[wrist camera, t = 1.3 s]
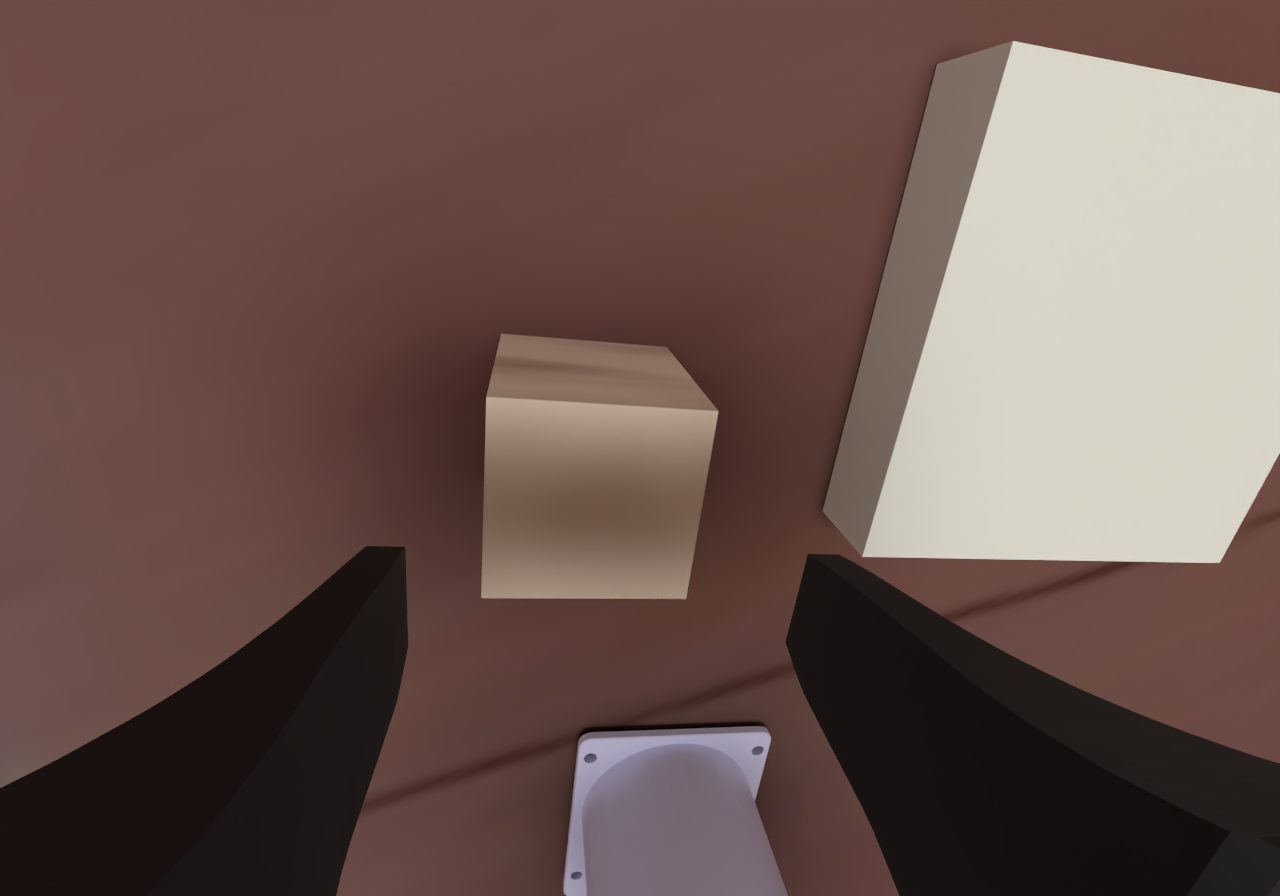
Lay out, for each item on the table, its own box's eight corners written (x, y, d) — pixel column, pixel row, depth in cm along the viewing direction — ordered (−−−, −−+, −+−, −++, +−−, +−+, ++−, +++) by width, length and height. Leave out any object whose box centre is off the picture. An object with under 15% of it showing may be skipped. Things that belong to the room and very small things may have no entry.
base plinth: (1144, 521, 25) (1219, 562, 22) (822, 511, 22) (862, 556, 20) (1329, 136, 20) (1456, 128, 17) (936, 63, 17) (1013, 41, 14)
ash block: (647, 491, 21) (686, 598, 16) (496, 485, 20) (481, 598, 15) (666, 346, 19) (718, 411, 14) (501, 333, 18) (486, 396, 13)
